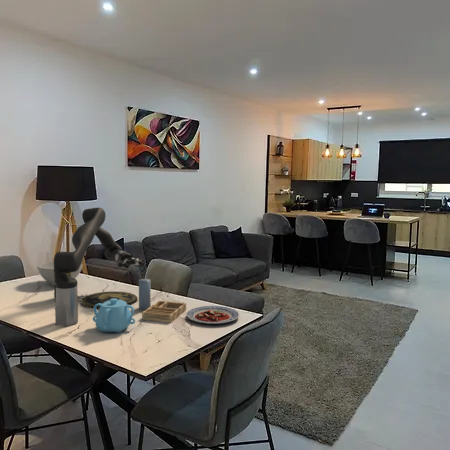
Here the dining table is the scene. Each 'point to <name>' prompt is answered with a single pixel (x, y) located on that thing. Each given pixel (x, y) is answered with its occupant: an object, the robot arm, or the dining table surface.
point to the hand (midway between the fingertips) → (135, 265)
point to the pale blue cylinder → (144, 294)
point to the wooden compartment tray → (164, 311)
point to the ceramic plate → (212, 314)
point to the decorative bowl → (48, 271)
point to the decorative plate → (107, 298)
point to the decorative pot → (113, 316)
